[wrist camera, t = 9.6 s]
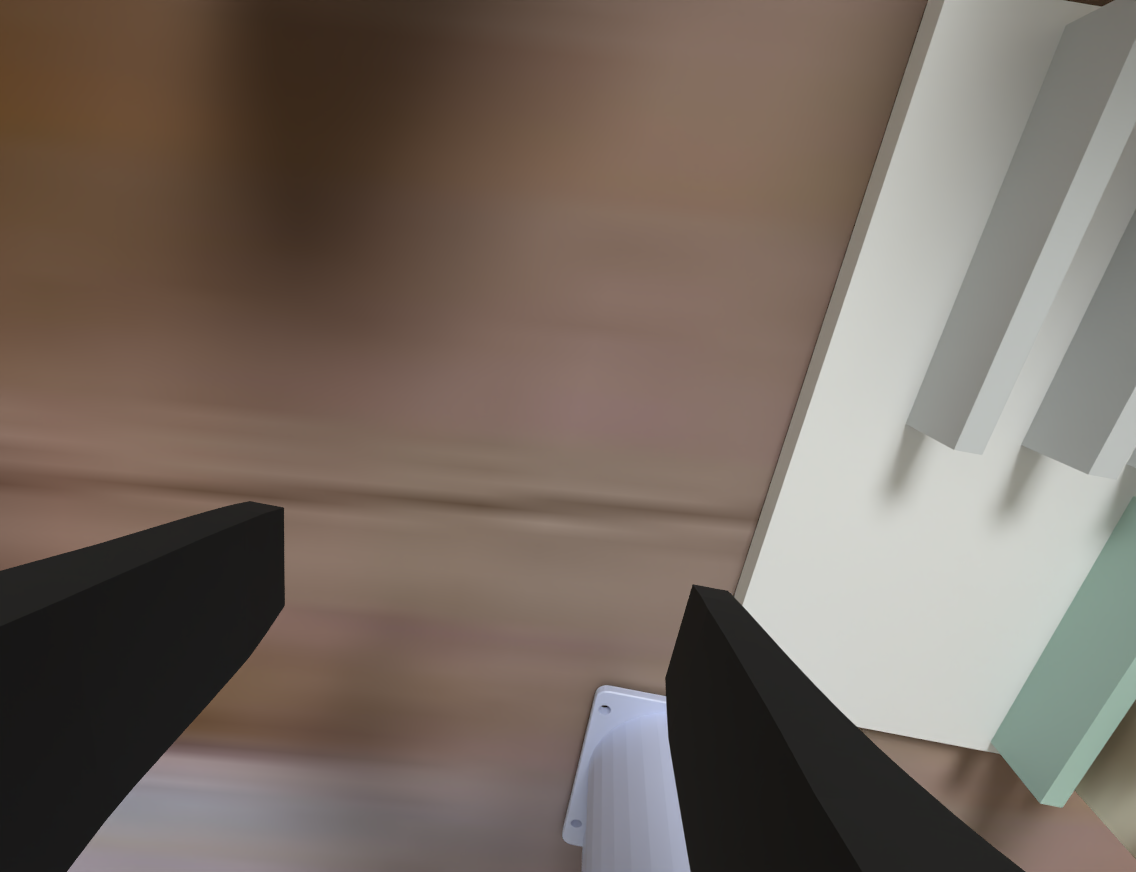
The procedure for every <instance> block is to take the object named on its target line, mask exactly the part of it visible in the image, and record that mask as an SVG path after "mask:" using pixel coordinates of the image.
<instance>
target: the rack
mask: <svg viewBox="0 0 1136 872" xmlns="http://www.w3.org/2000/svg"><path fill="white" fill-rule="evenodd" d="M734 597H735V599H736V600H737V601H738V602H739V603H740V604H741V605H742V606H743V607H744V608H745V609H746V610H747V611H748V612H749V614H750V615H751V616H752V617H753V618H754V619H755V620H756V621H757V622H758V623H759V625H760V626H761V627H762V628H763V629H764V630H765V631H766V632H767V633H768V635H769V636H770V637H771V638H772V639H773V640H774V641H775V642H776V643H777V645H778V646H779V647H780V648H781V649H782V650H783V651H784V652H785V653H786V654H787V655H788V657H789V658H790V659H791V660H792V661H793V662H794V663H795V664H796V665H797V666H798V667H799V668H800V669H801V671H802V672H803V673H804V674H805V675H806V676H807V677H808V678H809V679H810V680H811V681H812V682H813V683H814V684H815V685H816V686H817V687H818V688H819V690H820V691H821V692H822V693H823V694H824V695H825V696H826V697H827V698H828V699H829V700H830V701H831V702H832V703H833V704H834V705H835V706H836V707H837V708H838V709H839V710H840V711H841V712H842V713H843V714H844V715H845V716H846V717H847V718H848V719H849V720H850V721H851V722H852V723H853V724H855V725H856V726H857V727H861V728H866V729H871V730H877V731H882V732H887V733H892V734H898V735H903V736H908V737H914V738H919V739H924V740H929V741H935V742H940V743H945V744H950V745H956V746H961V747H966V748H971V749H977V750H982V751H987V752H992V753H998V754H1001V756H1002V757H1003V758H1004V759H1005V761H1006V762H1007V763H1008V764H1009V765H1010V767H1011V768H1012V769H1013V770H1014V772H1015V773H1016V774H1017V775H1018V777H1019V778H1020V779H1021V780H1022V782H1023V783H1024V784H1025V785H1026V787H1027V788H1028V789H1029V790H1030V792H1031V793H1032V794H1033V795H1034V797H1035V798H1036V799H1037V800H1038V802H1039V803H1040V804H1046V805H1051V806H1056V807H1061V808H1062V807H1063V806H1064V805H1065V803H1066V802H1067V800H1068V799H1069V797H1070V796H1071V794H1072V793H1073V791H1074V790H1075V788H1076V787H1077V785H1078V784H1079V782H1080V781H1081V779H1082V778H1083V776H1084V775H1085V774H1086V772H1087V771H1088V769H1089V768H1090V766H1091V765H1092V763H1093V762H1094V760H1095V759H1096V757H1097V756H1098V754H1099V753H1100V751H1101V750H1102V748H1103V747H1104V745H1105V744H1106V743H1107V741H1108V740H1109V738H1110V737H1111V735H1112V734H1113V732H1114V731H1115V729H1116V728H1117V726H1118V725H1119V723H1120V722H1121V720H1122V719H1123V717H1124V716H1125V714H1126V713H1127V711H1128V710H1129V709H1130V707H1131V706H1132V704H1133V703H1134V701H1135V700H1136V0H1114V1H1112V2H1110V3H1108V4H1106V5H1104V6H1102V7H1100V6H1094V5H1089V4H1083V3H1077V2H1071V1H1065V0H928V2H927V5H926V8H925V11H924V15H923V18H922V21H921V24H920V27H919V30H918V33H917V36H916V39H915V42H914V45H913V48H912V51H911V54H910V57H909V61H908V64H907V67H906V70H905V73H904V76H903V79H902V82H901V85H900V88H899V91H898V94H897V97H896V100H895V104H894V107H893V110H892V113H891V116H890V119H889V122H888V125H887V128H886V131H885V134H884V137H883V140H882V143H881V147H880V150H879V153H878V156H877V159H876V162H875V165H874V168H873V171H872V174H871V177H870V180H869V183H868V186H867V189H866V193H865V196H864V199H863V202H862V205H861V208H860V211H859V214H858V217H857V220H856V223H855V226H854V229H853V232H852V236H851V239H850V242H849V245H848V248H847V251H846V254H845V257H844V260H843V263H842V266H841V269H840V272H839V275H838V278H837V282H836V285H835V288H834V291H833V294H832V297H831V300H830V303H829V306H828V309H827V312H826V315H825V318H824V321H823V325H822V328H821V331H820V334H819V337H818V340H817V343H816V346H815V349H814V352H813V355H812V358H811V361H810V364H809V368H808V371H807V374H806V377H805V380H804V383H803V386H802V389H801V392H800V395H799V398H798V401H797V404H796V407H795V410H794V414H793V417H792V420H791V423H790V426H789V429H788V432H787V435H786V438H785V441H784V444H783V447H782V450H781V453H780V457H779V460H778V463H777V466H776V469H775V472H774V475H773V478H772V481H771V484H770V487H769V490H768V493H767V496H766V500H765V503H764V506H763V509H762V512H761V515H760V518H759V521H758V524H757V527H756V530H755V533H754V536H753V539H752V542H751V546H750V549H749V552H748V555H747V558H746V561H745V564H744V567H743V570H742V573H741V576H740V579H739V582H738V585H737V589H736V592H735V595H734Z"/></svg>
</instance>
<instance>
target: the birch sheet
mask: <svg viewBox="0 0 1136 872" xmlns="http://www.w3.org/2000/svg"><path fill="white" fill-rule="evenodd" d="M1075 791H1076V792H1077V794H1078V795H1079V796H1080V797H1081V798H1082V799H1083V800H1084V801H1085V803H1086V804H1087V805H1088V806H1089V807H1090V808H1091V809H1092V810H1093V812H1094V813H1095V814H1096V815H1097V816H1098V817H1099V818H1100V819H1101V821H1102V822H1103V823H1104V824H1105V825H1106V826H1107V827H1108V829H1109V830H1110V831H1111V832H1112V833H1113V834H1114V835H1115V836H1116V838H1117V839H1118V840H1119V841H1120V842H1121V843H1122V844H1123V845H1124V847H1125V848H1126V849H1127V850H1128V851H1129V852H1130V853H1131V854H1132V856H1133V857H1134V858H1135V859H1136V700H1135V701H1134V703H1133V704H1132V706H1131V707H1130V709H1129V710H1128V711H1127V713H1126V714H1125V716H1124V717H1123V719H1122V720H1121V722H1120V723H1119V725H1118V726H1117V728H1116V729H1115V731H1114V732H1113V734H1112V735H1111V737H1110V738H1109V740H1108V741H1107V743H1106V744H1105V745H1104V747H1103V748H1102V750H1101V751H1100V753H1099V754H1098V756H1097V757H1096V759H1095V760H1094V762H1093V763H1092V765H1091V766H1090V768H1089V769H1088V771H1087V772H1086V774H1085V775H1084V776H1083V778H1082V779H1081V781H1080V782H1079V784H1078V785H1077V787H1076V788H1075Z"/></svg>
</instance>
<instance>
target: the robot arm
mask: <svg viewBox="0 0 1136 872" xmlns="http://www.w3.org/2000/svg"><path fill="white" fill-rule="evenodd" d="M284 606H285V586H284V508H283V507H277V506H272V505H267V504H261V503H256V502H251V501H249V502H244V503H239V504H234V505H230V506H226V507H222V508H218V509H214V510H211V511H207V512H204V513H200V514H197V515H193V516H190V517H187V518H183V519H180V520H177V521H173V522H170V523H167V524H163V525H160V526H157V527H153V528H150V529H147V530H143V531H140V532H137V533H133V534H130V535H127V536H123V537H120V538H117V539H113V540H110V541H107V542H103V543H100V544H96V545H93V546H89V547H86V548H82V549H78V550H75V551H71V552H67V553H64V554H60V555H57V556H53V557H49V558H46V559H42V560H38V561H35V562H31V563H28V564H24V565H20V566H17V567H13V568H9V569H6V570H2V571H0V872H67V871H68V869H69V868H70V867H71V865H72V864H73V863H74V861H75V860H76V859H77V858H78V856H79V855H80V854H81V852H82V851H83V850H84V848H85V847H86V846H87V844H88V843H89V842H90V840H91V839H92V838H93V837H94V835H95V834H96V833H97V831H98V830H99V829H100V827H101V826H102V825H103V823H104V822H105V821H106V820H107V818H108V817H109V816H110V815H111V814H112V812H113V811H114V810H115V809H116V808H117V806H118V805H119V804H120V803H121V802H122V801H123V799H124V798H125V797H126V796H127V795H128V793H129V792H130V791H131V790H132V789H133V787H134V786H135V785H136V784H137V783H138V782H139V781H140V780H141V778H142V777H143V776H144V775H145V774H146V773H147V772H148V771H149V769H150V768H151V767H152V766H153V765H154V764H155V763H156V762H157V761H158V759H159V758H160V757H161V756H162V755H163V754H164V753H165V752H166V751H167V749H168V748H169V747H170V746H171V745H172V744H173V743H174V742H175V740H176V739H177V738H178V737H179V736H180V735H181V734H182V733H183V732H184V730H185V729H186V728H187V727H188V726H189V725H190V724H191V723H192V722H193V720H194V719H195V718H196V717H197V716H198V715H199V714H200V713H201V711H202V710H203V709H204V708H205V707H206V706H207V705H208V704H209V703H210V701H211V700H212V699H213V698H214V697H215V696H216V695H217V694H218V692H219V691H220V690H221V689H222V688H223V687H224V686H225V684H226V683H227V682H228V681H229V680H230V679H231V678H232V677H233V675H234V674H235V673H236V672H237V671H238V670H239V669H240V667H241V666H242V665H243V664H244V663H245V662H246V660H247V659H248V658H249V657H250V655H251V654H252V653H253V651H254V650H255V648H256V647H257V646H258V644H259V643H260V641H261V640H262V639H263V637H264V636H265V634H266V633H267V631H268V630H269V628H270V627H271V625H272V624H273V622H274V621H275V619H276V618H277V616H278V615H279V613H280V612H281V610H282V609H283V607H284ZM665 680H666V696H662V695H657V694H651V693H646V692H641V691H636V690H630V689H625V688H620V687H615V686H609V685H604V686H601V687H599V688H598V689H597V690H596V692H595V696H594V700H593V705H592V709H591V713H590V717H589V721H588V725H587V730H586V734H585V738H584V742H583V746H582V750H581V755H580V759H579V763H578V767H577V771H576V776H575V780H574V784H573V788H572V792H571V796H570V801H569V805H568V809H567V813H566V817H565V821H564V826H563V832H562V838H563V840H564V841H565V842H566V843H568V844H571V845H576V846H581V847H583V849H582V872H1025V871H1024V870H1022V869H1021V868H1020V867H1019V866H1017V865H1016V864H1015V863H1013V862H1012V861H1011V860H1010V859H1008V858H1007V857H1006V856H1004V855H1003V854H1002V853H1001V852H999V851H998V850H997V849H995V848H994V847H993V846H992V845H991V844H989V843H988V842H987V841H986V840H984V839H983V838H982V837H981V836H980V835H978V834H977V833H976V832H975V831H973V830H972V829H971V828H970V827H969V826H967V825H966V824H965V823H964V822H962V821H961V820H960V819H959V818H958V817H956V816H955V815H954V814H953V813H952V812H951V811H949V810H948V809H947V808H946V807H945V806H944V805H943V804H941V803H940V802H939V801H938V800H937V799H936V798H934V797H933V796H932V795H931V794H930V793H929V792H928V791H926V790H925V789H924V788H923V787H922V786H921V785H919V784H918V783H917V782H916V781H915V780H914V779H913V778H911V777H910V776H909V775H908V774H907V773H906V772H905V771H903V770H902V769H901V768H900V767H899V766H898V765H897V764H896V763H895V762H893V761H892V760H891V759H890V758H889V757H888V756H887V755H886V754H885V753H884V752H883V751H881V750H880V749H879V748H878V747H877V746H876V745H875V744H874V743H873V742H872V741H871V740H870V739H869V738H868V737H867V736H866V735H865V734H864V733H863V732H862V731H861V730H860V729H859V728H858V727H857V726H856V725H855V724H853V723H852V722H851V721H850V720H849V719H848V718H847V717H846V716H845V715H844V714H843V713H842V712H841V711H840V710H839V709H838V708H837V707H836V706H835V705H834V704H833V703H832V702H831V701H830V700H829V699H828V698H827V697H826V696H825V695H824V694H823V693H822V692H821V691H820V690H819V688H818V687H817V686H816V685H815V684H814V683H813V682H812V681H811V680H810V679H809V678H808V677H807V676H806V675H805V674H804V673H803V672H802V671H801V669H800V668H799V667H798V666H797V665H796V664H795V663H794V662H793V661H792V660H791V659H790V658H789V657H788V655H787V654H786V653H785V652H784V651H783V650H782V649H781V648H780V647H779V646H778V645H777V643H776V642H775V641H774V640H773V639H772V638H771V637H770V636H769V635H768V633H767V632H766V631H765V630H764V629H763V628H762V627H761V626H760V625H759V623H758V622H757V621H756V620H755V619H754V618H753V617H752V616H751V615H750V614H749V612H748V611H747V610H746V609H745V608H744V607H743V606H742V605H741V604H740V603H739V602H738V601H737V600H736V599H735V597H733V596H732V595H731V594H730V593H729V592H728V591H725V590H720V589H714V588H709V587H704V586H698V585H692V589H691V592H690V596H689V599H688V602H687V606H686V609H685V613H684V616H683V620H682V623H681V626H680V630H679V633H678V637H677V640H676V643H675V647H674V650H673V654H672V657H671V661H670V664H669V667H668V671H667V674H666V678H665ZM602 705H607V706H608V707H602Z"/></svg>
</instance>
